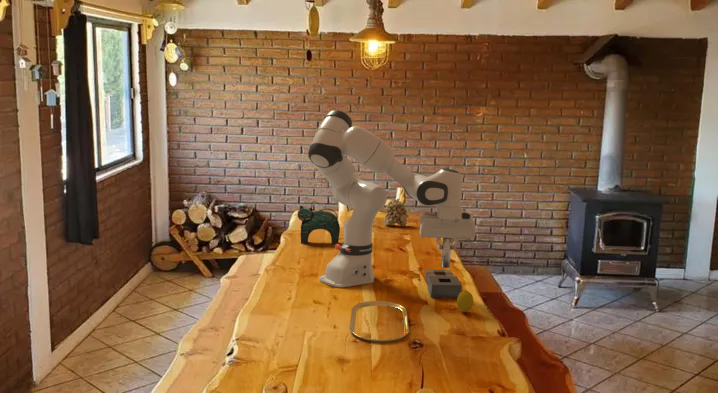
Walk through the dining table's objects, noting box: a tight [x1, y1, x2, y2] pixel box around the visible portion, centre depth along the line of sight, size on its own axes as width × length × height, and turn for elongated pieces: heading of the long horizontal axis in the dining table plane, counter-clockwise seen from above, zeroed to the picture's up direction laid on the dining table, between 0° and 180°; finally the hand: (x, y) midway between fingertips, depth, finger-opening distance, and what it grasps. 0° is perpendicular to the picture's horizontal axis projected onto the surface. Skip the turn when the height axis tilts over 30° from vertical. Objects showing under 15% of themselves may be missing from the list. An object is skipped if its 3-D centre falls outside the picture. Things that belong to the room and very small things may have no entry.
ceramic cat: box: [297, 200, 341, 245], centre depth 321 cm, size 20×6×20 cm, turn 92°
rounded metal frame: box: [349, 300, 410, 343], centre depth 225 cm, size 19×35×2 cm, turn 178°
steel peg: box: [440, 238, 452, 269], centre depth 253 cm, size 3×3×11 cm
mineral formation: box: [383, 198, 410, 227], centre depth 361 cm, size 8×13×15 cm, turn 93°
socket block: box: [424, 268, 455, 286], centre depth 267 cm, size 10×10×4 cm
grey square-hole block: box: [427, 275, 463, 299], centre depth 255 cm, size 11×11×5 cm
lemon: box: [456, 289, 474, 313], centre depth 236 cm, size 6×6×8 cm
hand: (446, 249), depth 253 cm, fingers closed on steel peg, 3 cm apart
